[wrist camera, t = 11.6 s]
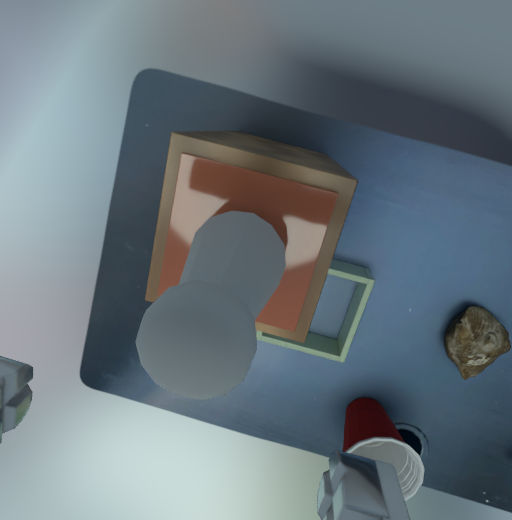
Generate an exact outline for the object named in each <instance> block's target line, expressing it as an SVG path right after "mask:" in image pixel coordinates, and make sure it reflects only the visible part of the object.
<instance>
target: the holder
mask: <svg viewBox="0 0 512 520" xmlns="http://www.w3.org/2000/svg"><path fill="white" fill-rule="evenodd" d="M327 274H330V275H334V276H338V277H341V278H345V279H349V280H353V281H356V282H358V283H357V286H356V289H355V292H354V294H353V297H352V300H351V302H350V305H349V308H348V311H347V313H346V316H345V319H344V322H343V324H342V327H341V330H340V333H339V335H338V338H337V340H336V339H332V338H329V337H325V336H321V335H317V334H314V333H310V332H308V334H307V337H306V340H305V342H304V343H302V342H298V341H294V340H290V339H287V338H283V337H279V336H276V335H272V334H268V333H265V332H261V331H257V330H256V336H257V339H258V340H261V341H265V342H269V343H272V344H276V345H280V346H283V347H287V348H291V349H294V350H298V351H302V352H306V353H309V354H313V355H317V356H320V357H324V358H328V359H331V360H335V361H339V362H343V363H344V361H345V358H346V356H347V353H348V350H349V348H350V345H351V343H352V340H353V337H354V335H355V332H356V329H357V327H358V324H359V322H360V319H361V316H362V314H363V311H364V308H365V306H366V303H367V301H368V298H369V295H370V293H371V290H372V287H373V285H374V282H375V280H374V278H373V276H372V274H371V272H370V270H369V268H365V267H361V266H358V265H354V264H350V263H346V262H343V261H339V260H335V259H332V261H331V264H330V267H329V270H328V273H327Z"/></svg>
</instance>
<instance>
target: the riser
mask: <svg viewBox="0 0 512 520" xmlns="http://www.w3.org/2000/svg"><path fill="white" fill-rule="evenodd" d="M182 152H186V153H190V154H194V155H198V156H202V157H205V158H209V159H213V160H217V161H221V162H225V163H228V164H232V165H236V166H240V167H244V168H248V169H251V170H255V171H259V172H263V173H267V174H270V175H274V176H278V177H282V178H286V179H290V180H293V181H297V182H301V183H305V184H309V185H313V186H316V187H320V188H324V189H328V190H332V191H336V192H338V197H337V200H336V203H335V207H334V210H333V213H332V216H331V219H330V222H329V225H328V229H327V232H326V235H325V238H324V241H323V244H322V247H321V251H320V254H319V257H318V260H317V263H316V266H315V269H314V273H313V276H312V279H311V282H310V285H309V288H308V291H307V295H306V298H305V301H304V304H303V307H302V310H301V313H300V317H299V320H298V323H297V326H296V329H295V332H292V331H289V330H285V329H281V328H278V327H274V326H270V325H266V324H263V323H259V322H255V328H256V330H257V331H261V332H265V333H268V334H272V335H276V336H279V337H283V338H287V339H290V340H294V341H298V342H302V343H304V342H305V340H306V337H307V334H308V331H309V328H310V325H311V322H312V319H313V316H314V313H315V310H316V307H317V303H318V300H319V297H320V294H321V291H322V288H323V285H324V282H325V279H326V276H327V273H328V270H329V267H330V264H331V261H332V258H333V255H334V252H335V249H336V246H337V243H338V240H339V237H340V234H341V231H342V228H343V225H344V222H345V219H346V216H347V213H348V210H349V207H350V204H351V201H352V198H353V195H354V192H355V189H356V186H357V183H358V180H357V179H356V178H354V177H353V176H352V175H351V174H350V173H349V172H347V171H346V170H345V169H344V168H343V167H341V166H340V165H339V164H338V163H337V162H336V161H334V160H333V159H332V158H331V157H330V156H328V155H327V154H323V153H320V152H316V151H312V150H308V149H304V148H300V147H296V146H293V145H289V144H285V143H281V142H277V141H273V140H269V139H266V138H262V137H258V136H254V135H250V134H246V133H243V132H239V131H191V132H171V138H170V144H169V150H168V157H167V163H166V169H165V176H164V182H163V188H162V195H161V201H160V207H159V214H158V220H157V226H156V233H155V239H154V246H153V252H152V258H151V265H150V271H149V277H148V284H147V290H146V296H145V300H146V301H150V302H153V303H154V302H155V301H156V300H157V299H158V298H159V297H160V296H159V295H157V293H158V287H159V281H160V276H161V270H162V264H163V258H164V252H165V246H166V240H167V234H168V228H169V222H170V216H171V210H172V205H173V199H174V193H175V187H176V181H177V175H178V169H179V163H180V157H181V153H182Z"/></svg>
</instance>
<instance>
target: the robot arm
mask: <svg viewBox="0 0 512 520" xmlns="http://www.w3.org/2000/svg"><path fill="white" fill-rule="evenodd" d="M32 378H33V367H31V366H30V365H28V364H25V363H22V362H18V361H15V360H12V359H8V358H5V357H2V356H0V443H1V442H2V433H5V432H7V431H9V430H12V429H14V428H15V427H16V426H17V425H18V424H19V423H20V422H21V421H22V419H23V418H24V416H25V415H26V413H27V411H28V409H29V407H30V403H31V400H32V391H31V389H30V387H29V386H28V384H27V383H28V382H29V381H30V380H32ZM317 513H318V514H319V516H320V518H321V520H410V517H409V514H408V510H407V507H406V504H405V500H404V497H403V493H402V490H401V487H400V483H399V480H398V477H397V473H396V470H395V467H394V466H393V465H392V464H390V463H386V462H382V461H378V460H374V459H369V458H366V457H362V456H358V455H355V454H351V453H347V452H343V451H340V450H336V449H335V450H334V451H333V452H332V454H331V456H330V458H329V470H328V471H326V472H324V473H323V476H322V478H321V481H320V485H319V490H318V497H317Z"/></svg>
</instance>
